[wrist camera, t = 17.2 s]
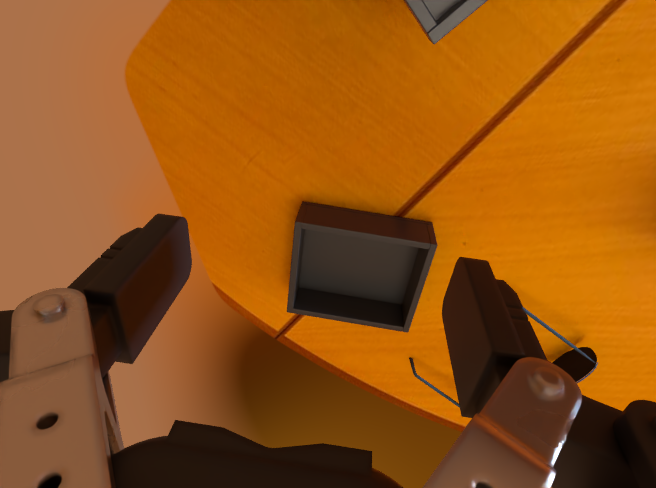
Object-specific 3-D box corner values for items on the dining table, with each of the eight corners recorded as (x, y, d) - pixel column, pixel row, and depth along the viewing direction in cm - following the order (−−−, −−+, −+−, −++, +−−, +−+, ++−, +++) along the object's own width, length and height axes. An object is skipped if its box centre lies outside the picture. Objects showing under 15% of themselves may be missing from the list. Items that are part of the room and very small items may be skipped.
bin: (293, 287, 50) (286, 312, 46) (302, 200, 44) (295, 221, 40) (405, 306, 50) (408, 332, 46) (432, 222, 43) (437, 245, 39)
